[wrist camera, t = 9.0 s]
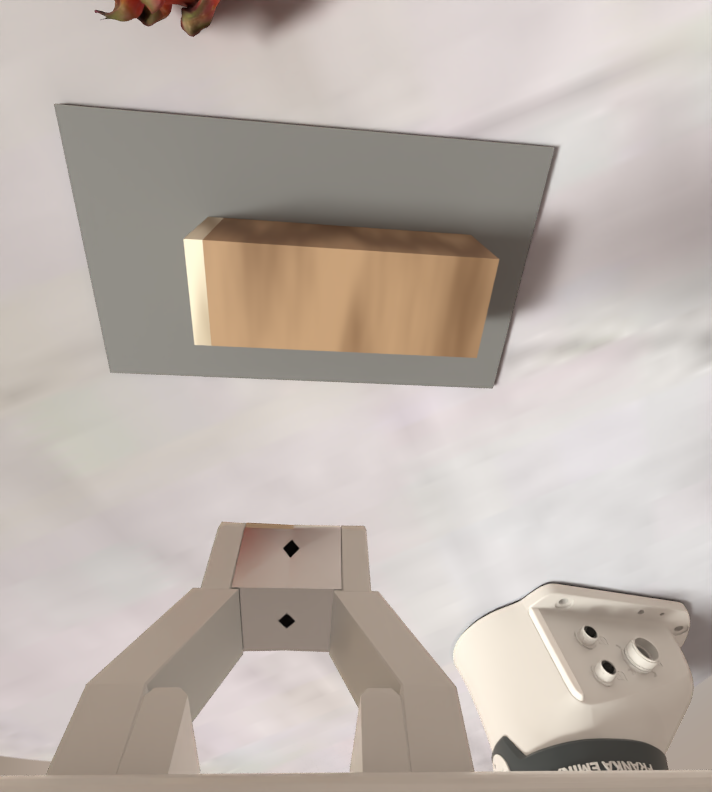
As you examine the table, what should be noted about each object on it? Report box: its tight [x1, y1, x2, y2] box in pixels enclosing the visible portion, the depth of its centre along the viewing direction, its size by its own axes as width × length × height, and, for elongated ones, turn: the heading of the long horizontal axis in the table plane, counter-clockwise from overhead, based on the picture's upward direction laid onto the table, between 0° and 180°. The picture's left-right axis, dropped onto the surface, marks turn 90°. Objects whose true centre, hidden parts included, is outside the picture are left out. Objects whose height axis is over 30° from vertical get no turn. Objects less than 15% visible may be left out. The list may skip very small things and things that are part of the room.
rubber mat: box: [54, 104, 555, 388], centre depth 27 cm, size 24×14×1 cm, turn 86°
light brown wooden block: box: [183, 217, 499, 358], centre depth 24 cm, size 5×5×14 cm
